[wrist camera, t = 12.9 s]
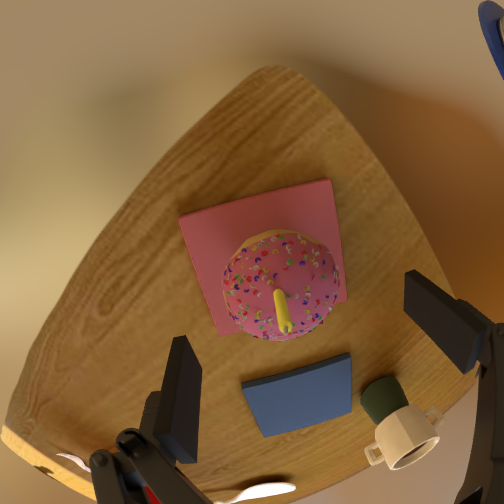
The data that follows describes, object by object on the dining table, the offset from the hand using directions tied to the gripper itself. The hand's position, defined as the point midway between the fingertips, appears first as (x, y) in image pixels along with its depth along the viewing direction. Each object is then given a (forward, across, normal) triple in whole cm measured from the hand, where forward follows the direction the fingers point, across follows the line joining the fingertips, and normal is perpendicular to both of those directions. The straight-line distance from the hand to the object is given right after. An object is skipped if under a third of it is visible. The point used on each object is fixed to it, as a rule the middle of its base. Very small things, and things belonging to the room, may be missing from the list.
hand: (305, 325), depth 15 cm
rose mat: (+11, 0, 0) cm, 11 cm away
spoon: (+10, -22, -51) cm, 56 cm away
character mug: (+11, +10, -24) cm, 28 cm away
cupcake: (+10, 0, 0) cm, 10 cm away
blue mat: (+10, 0, -20) cm, 23 cm away
